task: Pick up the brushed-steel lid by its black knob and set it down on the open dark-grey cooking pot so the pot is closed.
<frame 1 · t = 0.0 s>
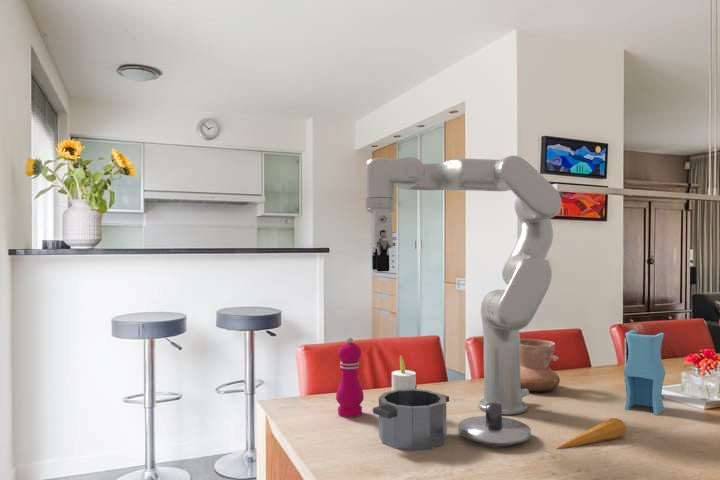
hand: (380, 270, 140), 37 cm above the table, tool pointing down, fingers open, 9 cm apart
lid: (494, 438, 121), on the table
candle: (404, 414, 139), on the table
carrot: (588, 443, 118), on the table
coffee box: (642, 395, 154), on the table
blue tall piece: (645, 409, 141), on the table
pot: (412, 437, 121), on the table
pepper mill: (350, 414, 139), on the table
ceramic jug: (533, 388, 163), on the table
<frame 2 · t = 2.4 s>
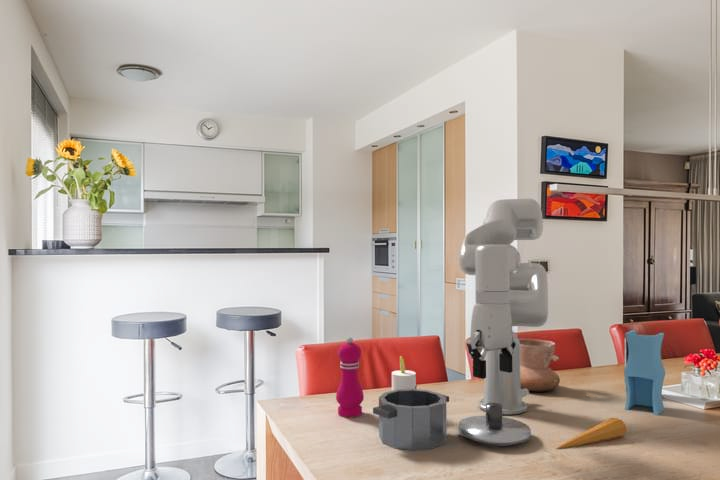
hand: (493, 374, 120), 14 cm above the table, tool pointing down, fingers open, 9 cm apart
nothing on the table moved.
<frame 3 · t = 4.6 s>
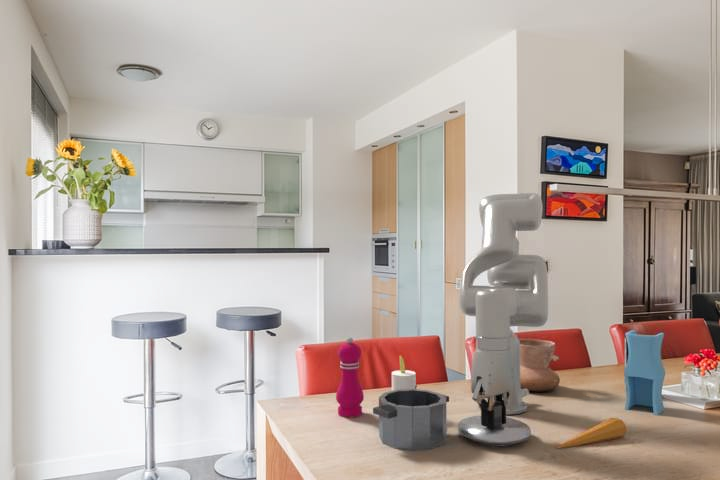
hand: (493, 423, 121), 3 cm above the table, tool pointing down, fingers closed on lid, 3 cm apart
lid: (493, 437, 121), on the table, touching gripper
everything else where it was.
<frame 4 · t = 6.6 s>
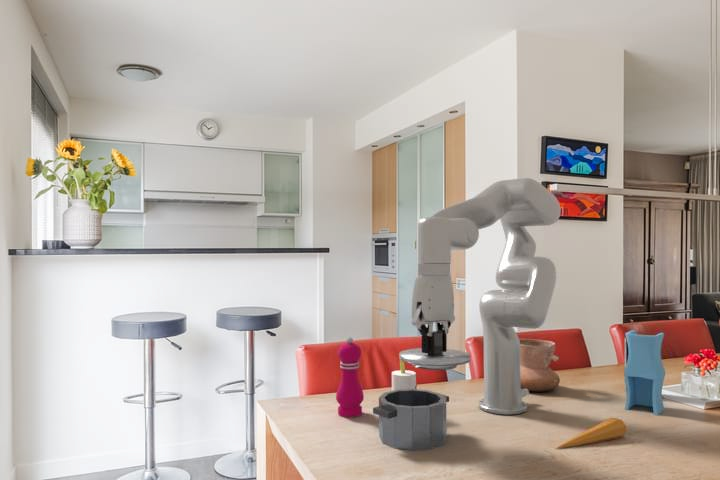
hand: (434, 351, 121), 20 cm above the table, tool pointing down, fingers closed on lid, 3 cm apart
lid: (434, 365, 121), point 17 cm above the table, touching gripper
everything else where it was.
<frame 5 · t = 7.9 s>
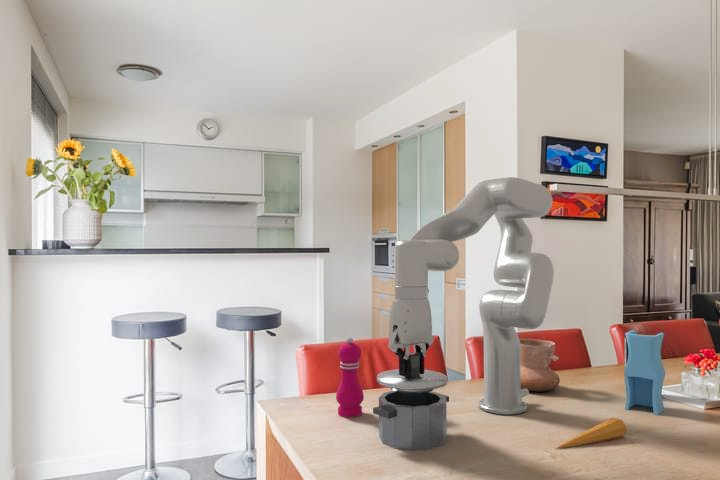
hand: (411, 373, 121), 15 cm above the table, tool pointing down, fingers closed on lid, 3 cm apart
lid: (412, 387, 121), point 11 cm above the table, touching gripper
everything else where it was.
when the fingers open (12 cm above the table, at t = 9.1 s): lid stays where it is, resting on pot.
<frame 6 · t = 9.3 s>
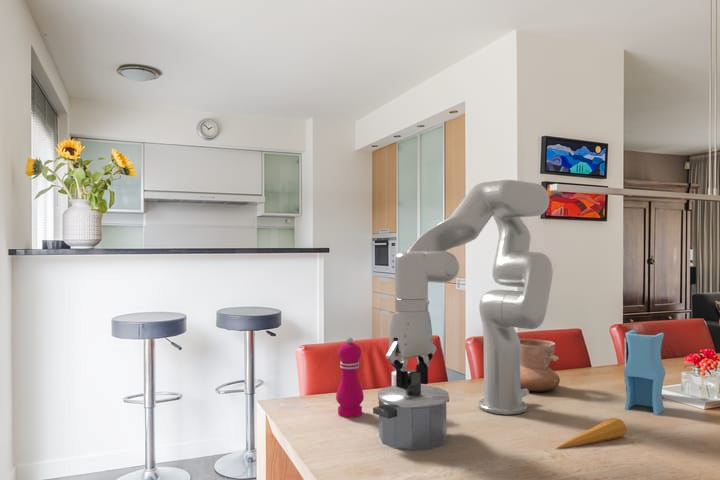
hand: (412, 384, 121), 12 cm above the table, tool pointing down, fingers open, 5 cm apart
lid: (413, 404, 121), point 7 cm above the table, touching pot
everything else where it was.
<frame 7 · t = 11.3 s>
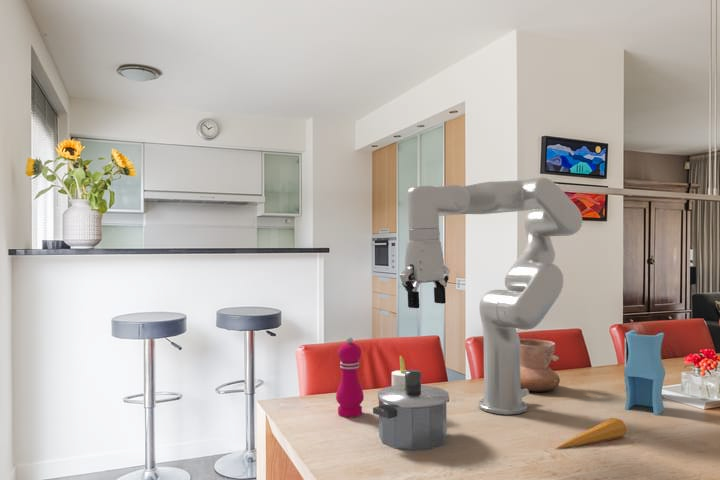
hand: (427, 305, 132), 29 cm above the table, tool pointing down, fingers open, 9 cm apart
nothing on the table moved.
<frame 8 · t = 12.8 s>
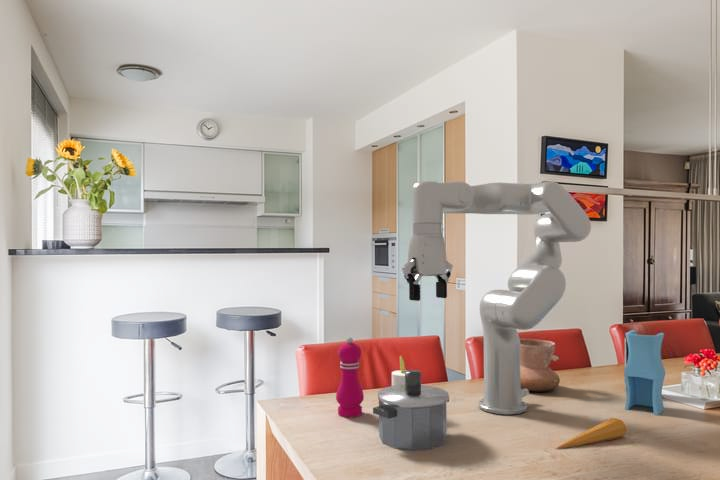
hand: (428, 299, 134), 30 cm above the table, tool pointing down, fingers open, 9 cm apart
nothing on the table moved.
at the end: lid 0.2 cm from the pot (horizontally); lid 0.2 cm off-centre on the pot, point 7.5 cm above the pot's base; the gripper is holding nothing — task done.
